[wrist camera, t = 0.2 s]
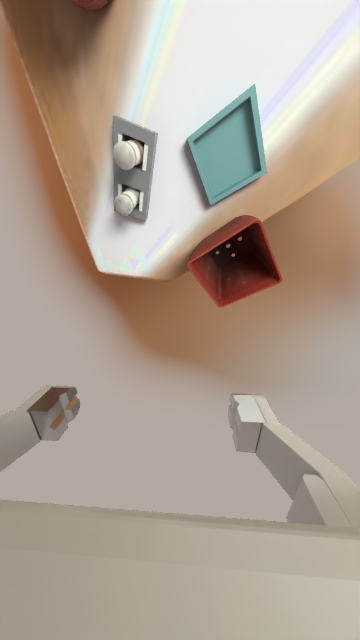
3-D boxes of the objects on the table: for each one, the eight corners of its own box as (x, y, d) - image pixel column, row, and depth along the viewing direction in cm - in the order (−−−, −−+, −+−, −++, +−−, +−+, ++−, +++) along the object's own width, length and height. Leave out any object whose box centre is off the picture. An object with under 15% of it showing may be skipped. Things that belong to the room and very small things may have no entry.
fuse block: (117, 116, 37) (112, 115, 35) (157, 133, 38) (154, 133, 36) (117, 207, 50) (113, 211, 48) (147, 217, 51) (145, 221, 49)
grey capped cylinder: (124, 147, 40) (108, 150, 34) (137, 134, 39) (124, 135, 32) (135, 167, 43) (123, 174, 36) (148, 156, 41) (138, 162, 35)
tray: (187, 138, 38) (186, 138, 36) (251, 86, 32) (254, 83, 30) (210, 202, 47) (210, 205, 45) (263, 170, 41) (266, 172, 39)
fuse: (123, 191, 47) (110, 201, 40) (134, 182, 45) (123, 191, 39) (133, 207, 50) (122, 218, 43) (144, 199, 48) (135, 210, 41)
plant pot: (246, 195, 45) (260, 217, 34) (267, 251, 56) (283, 282, 45) (188, 237, 55) (185, 264, 44) (216, 278, 66) (219, 308, 55)
